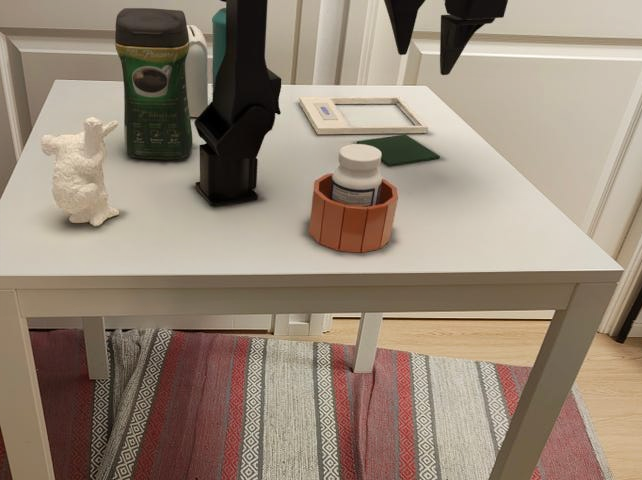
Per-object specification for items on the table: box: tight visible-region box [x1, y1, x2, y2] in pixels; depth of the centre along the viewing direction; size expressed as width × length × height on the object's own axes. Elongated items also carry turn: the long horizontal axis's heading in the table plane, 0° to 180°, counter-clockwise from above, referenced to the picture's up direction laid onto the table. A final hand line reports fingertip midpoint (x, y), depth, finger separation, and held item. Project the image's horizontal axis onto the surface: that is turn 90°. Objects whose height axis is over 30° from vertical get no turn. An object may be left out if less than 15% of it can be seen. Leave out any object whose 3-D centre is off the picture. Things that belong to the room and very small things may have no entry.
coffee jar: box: [114, 7, 194, 160], centre depth 89 cm, size 10×8×19 cm
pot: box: [308, 172, 399, 254], centre depth 77 cm, size 10×10×6 cm
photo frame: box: [298, 96, 429, 135], centre depth 109 cm, size 15×1×18 cm
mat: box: [356, 134, 441, 167], centre depth 99 cm, size 9×9×1 cm
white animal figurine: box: [40, 116, 120, 227], centre depth 75 cm, size 8×7×12 cm
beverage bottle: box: [211, 0, 226, 101], centre depth 97 cm, size 6×7×20 cm
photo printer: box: [185, 24, 209, 118], centre depth 106 cm, size 10×4×12 cm, turn 13°
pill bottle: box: [329, 143, 383, 207], centre depth 75 cm, size 6×6×10 cm
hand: (422, 64), depth 85 cm, fingers open, 9 cm apart
